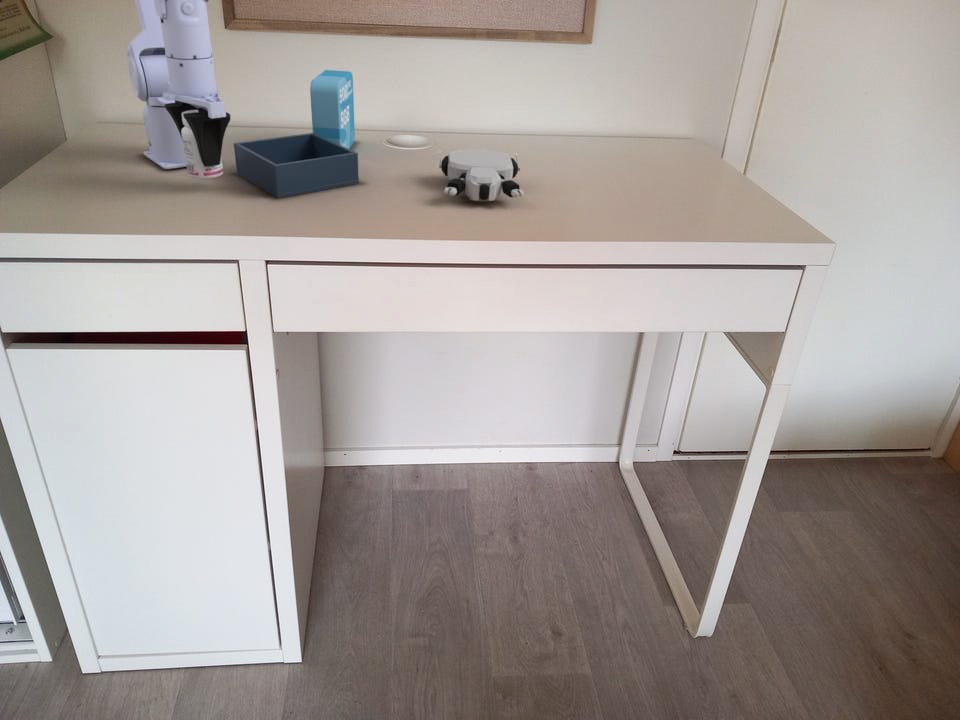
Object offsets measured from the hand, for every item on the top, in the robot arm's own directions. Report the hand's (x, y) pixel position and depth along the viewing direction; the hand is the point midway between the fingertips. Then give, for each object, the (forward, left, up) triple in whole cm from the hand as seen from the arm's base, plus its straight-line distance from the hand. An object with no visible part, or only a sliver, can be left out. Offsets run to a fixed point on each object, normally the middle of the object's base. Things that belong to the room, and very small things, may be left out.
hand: (203, 160), depth 102 cm
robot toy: (+21, +33, -4) cm, 39 cm away
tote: (+2, +13, -4) cm, 14 cm away
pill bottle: (0, 0, -2) cm, 2 cm away
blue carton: (-9, +26, -4) cm, 28 cm away
